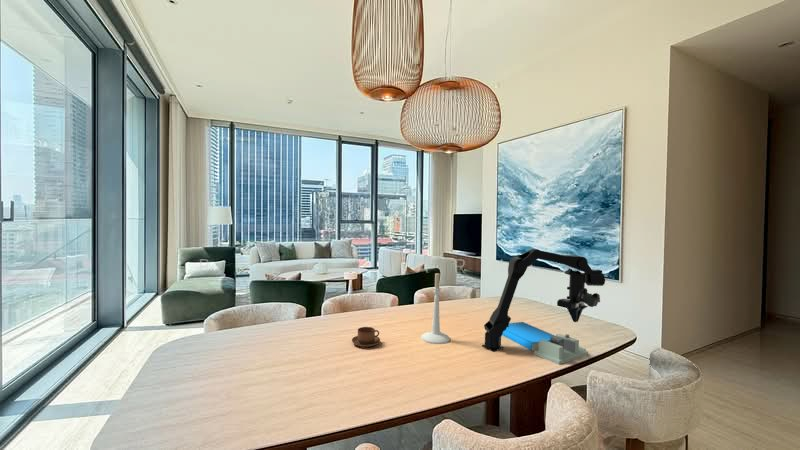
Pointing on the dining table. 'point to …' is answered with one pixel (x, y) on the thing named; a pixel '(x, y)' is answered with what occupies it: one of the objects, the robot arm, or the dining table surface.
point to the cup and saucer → (366, 337)
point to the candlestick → (436, 320)
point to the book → (526, 335)
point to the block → (557, 340)
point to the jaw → (570, 343)
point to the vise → (557, 352)
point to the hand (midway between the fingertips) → (575, 321)
